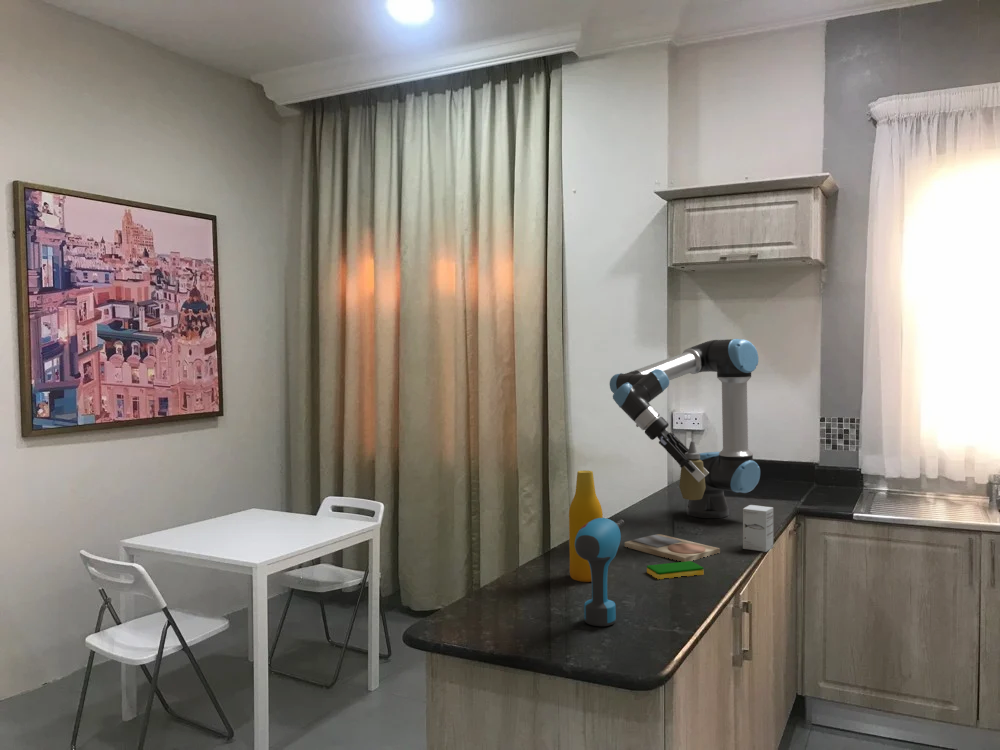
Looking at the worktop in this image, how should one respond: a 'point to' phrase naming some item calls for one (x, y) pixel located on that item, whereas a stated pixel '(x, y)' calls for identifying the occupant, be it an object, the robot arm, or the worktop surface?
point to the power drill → (599, 566)
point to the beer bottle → (582, 521)
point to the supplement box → (758, 528)
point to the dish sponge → (675, 570)
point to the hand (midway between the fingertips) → (704, 477)
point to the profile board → (672, 547)
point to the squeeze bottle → (687, 482)
